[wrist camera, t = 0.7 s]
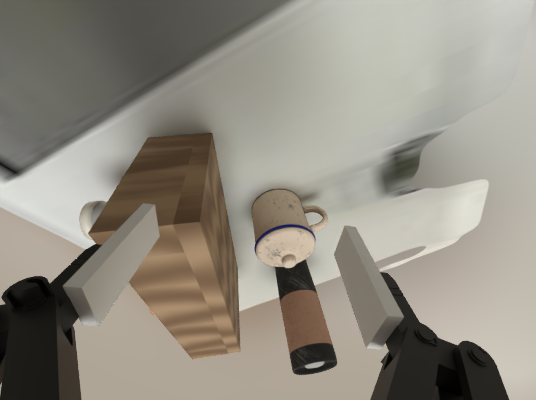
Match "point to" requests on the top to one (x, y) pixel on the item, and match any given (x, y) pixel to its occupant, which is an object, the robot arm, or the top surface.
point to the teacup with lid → (284, 228)
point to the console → (182, 242)
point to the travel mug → (304, 321)
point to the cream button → (90, 215)
